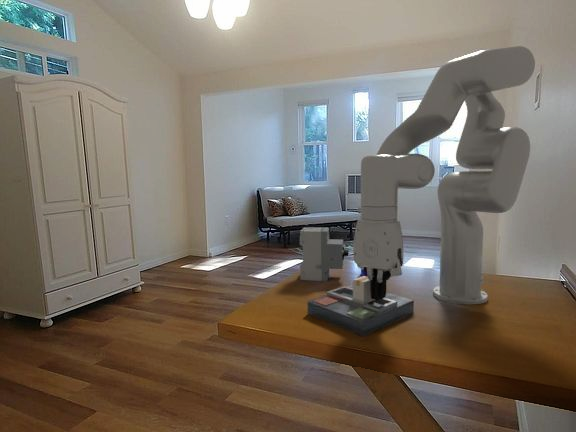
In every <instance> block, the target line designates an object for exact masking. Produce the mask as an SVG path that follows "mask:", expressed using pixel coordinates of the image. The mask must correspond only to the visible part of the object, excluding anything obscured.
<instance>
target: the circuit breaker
mask: <svg viewBox="0 0 576 432" xmlns="http://www.w3.org/2000/svg"><path fill="white" fill-rule="evenodd" d="M299 234H300V235H299V245H300V247H302V261H301V263H300V265H299V267H300V268H299V271H300V272H299V273H300V279H299V280H300V281H317V282H321V281H323V282H327V281H328V279H329V276H330V272H331V271H330V270H342V269H343V266H344V260H345V257H349V255H350V254H349V253H350V252H349V249H348V250H346V249H345V246H344V239H332V238H331V239H330V228H329V227H309V226H307V227H303V228H302V229H301V230H300V232H299Z"/></svg>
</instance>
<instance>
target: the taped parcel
mask: <svg viewBox="0 0 576 432" xmlns="http://www.w3.org/2000/svg"><path fill="white" fill-rule="evenodd" d="M352 287H353V299H356V300H359V301H362V302H365V303H369V302H371V301H374V300H375V299H371V292H370V280H369V279H368V277H366V276H362V275H361V276H360V277H356V278H353V279H352Z"/></svg>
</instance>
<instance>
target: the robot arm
mask: <svg viewBox="0 0 576 432" xmlns="http://www.w3.org/2000/svg"><path fill="white" fill-rule="evenodd" d="M535 68H536V61H535V57H534V54H533V52H532V51H531V50H530V49H529V48H528V47H525V46H522V45H516V46H514V45H513V46H507V47H500V48H497V47H496V48H489V49H485V50H479V51H476V52H473V53H469V54H467V55H463V56H460V57H458V58H454V59H452V60H449V61H447V62H445V63H443V65H442V66H440V67H439V69H438V70H437V72H436V74H435V75H434V77H433V79H432V81H431V82H430V84H429V86H428V88H427V90H426V92H425V94H424V95H423V97H422V100H421V101H420V103H419V105H418V106H417V109H415V111H414V112H413V113H411V114H410V115H409V116H408V117H407V118H406V119H405V120H404V121H403V122H402V123H400V125H398V126H397V127H396V128H394V130H392V132H391V133H389V135H388V136H387V137H386V138H385V139H384V141H383V142H382V144H381V145H380V147H379V150H378V151H377V153H376V154H371V155H366V156H364V157H362V159H361V161H360V207H358V208H357V213H358V214H360V218H359V219H357V221H356V226H355V231H354V239H353V248H352V249H353V250H352V252H353V254H352V255H353V262H354V263H355V264H356V266H357V268H358V269H360V270H361V269H362V270H364V271H365V272H366V274H367V275H368V279H369V280H370V292H371V299H375V300H380V299H383V298H385V297H386V293H387V281H388V280H390V278H392V277H399V276H402V274H403V272H402V267H403V266H404V265H403V264H404V239H403V232H402V226H401V222H400V221H399V220H398V198H399V196H398V190H399V189H401V190H403V189H404V190H419V189H421V188H424V187H426V186H428V185H429V184H430V183H431V182H432V180H433V179H434V176H435V174H436V173H435V171H436V170H435V169H436V168H435V165H434V163H433V161H432V160H431V159H430V157H428V156H427V155H425V154H423V153H411V152H412V151H413V150H415V149H416V148H417V147H419V146H420V145H422V144H424V143H426V142H429V141H431V140H433V139H435V138H437V137H438V136H440V135H442V134H443V133H445V132H446V131H448V130H450V129H451V127H452V126H453V124H454V122H455V120H456V118H457V116H458V114H459V112H460V110H461V108H462V106H463V104H464V103H465V105H466V110H467V113H466V119H465V123H464V126H463V128H462V133H461V135H460V137H459V138H460V139H459V142H458V145H457V149H456V152H455V153H456V154H455V160H456V163H457V164H458V165H459V166H460V167H462V168H464V169H469V170H470V171H469V170H468V171H467V170H466V171H465V170H463V171H454V172H450V173H447V174H446V175H444V176H443V177H442V179H440V181H439V183H438V186H437V198H438V199H437V200H438V205H439V208H440V223H441V224H440V254H439V255H440V256H439V258H440V259H439V285H437V286H435V287H434V288H433V289H432V294H433V296H434V297H435V298H436V299H439V300H441V301H444V302H447V303H451V304H458V305H465V306H466V305H472V306H473V305H480V304H484V303H486V302H487V301H488V297H489V295H488V293H486V292H485V291H484V290H482V283H484V282H485V278H484V276H483V274H482V271H483V269H482V267H483V246H484V243H483V242H484V226H483V223H482V221H481V218H480V217H479V215H478V212H479V213H487V214H488V213H489V214H501V213H506V212H509V210H511V209H512V208H513V207H514V206H515V203H516V201H517V198H518V196H519V193H520V189H521V185H522V182H523V179H524V175H525V173H526V169H527V166H528V162H529V160H530V156H531V155H530V153H531V141H530V138H529V135H528V133H527V132H526V130H524V129H522V128H521V127H518V126H505V127H504V122H505V119H506V113H505V112H506V111H505V109H504V107H503V105H502V103H500V102H499V100H498V99H497V98H496V96H494V94H493V93H492V92H496V91H501V90H505V89H506V90H507V89H510V88H514V87H518V86H522V85H524V84H526V83H527V82H528V81H529V80H530V79H531V78H532V76H533V74H534V72H535ZM475 170H476V171H475ZM477 170H479V171H477ZM481 170H482V171H481ZM483 170H484V171H483Z"/></svg>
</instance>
